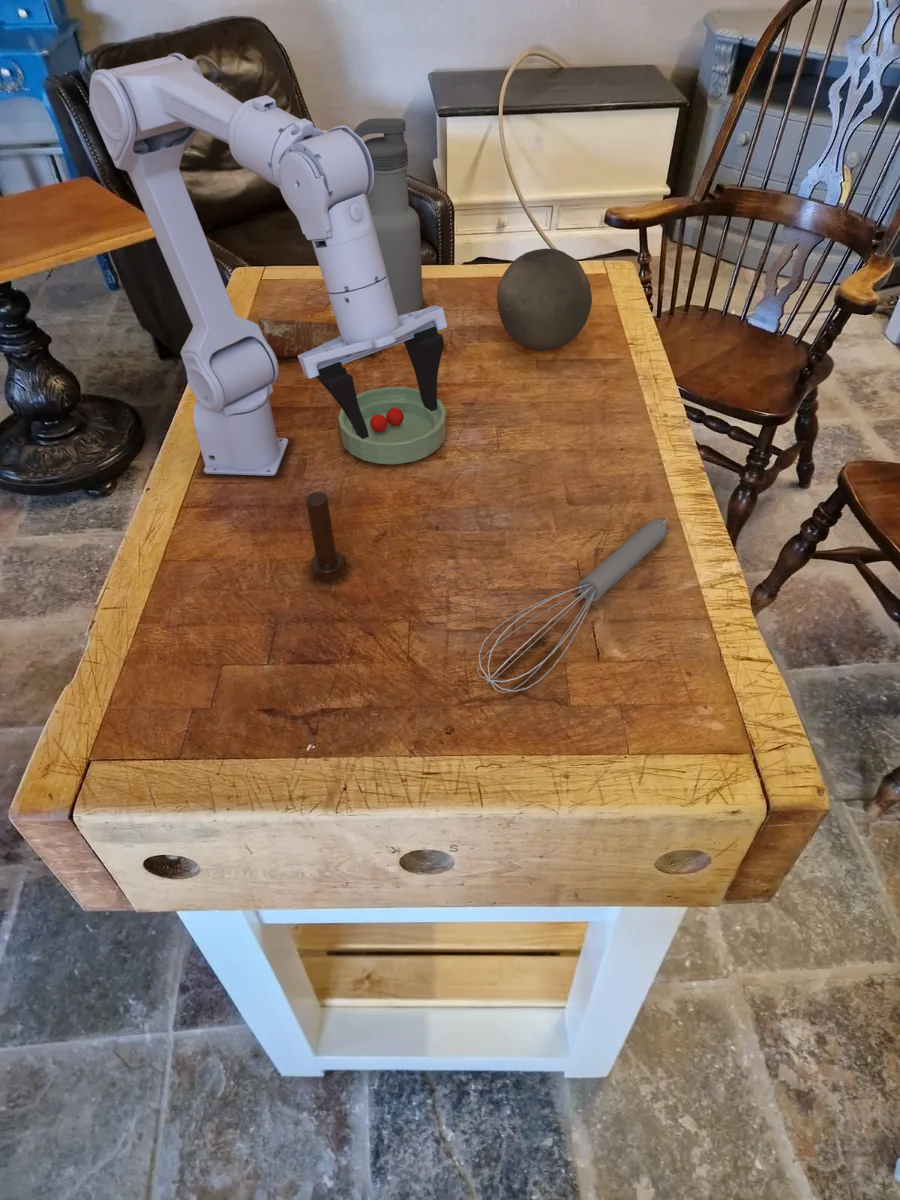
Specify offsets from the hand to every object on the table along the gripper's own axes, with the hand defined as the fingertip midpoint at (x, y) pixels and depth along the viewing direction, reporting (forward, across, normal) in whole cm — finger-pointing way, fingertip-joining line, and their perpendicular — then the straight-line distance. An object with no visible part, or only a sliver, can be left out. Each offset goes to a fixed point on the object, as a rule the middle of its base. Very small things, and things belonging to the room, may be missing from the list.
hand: (397, 421), depth 80 cm
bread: (+4, +6, +52) cm, 52 cm away
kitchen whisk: (+22, +10, -12) cm, 27 cm away
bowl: (+11, +6, +26) cm, 29 cm away
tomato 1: (+9, +5, +27) cm, 29 cm away
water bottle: (+4, +22, +61) cm, 65 cm away
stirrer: (+15, -11, +5) cm, 19 cm away
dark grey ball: (+12, +36, +37) cm, 53 cm away
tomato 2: (+9, +8, +27) cm, 30 cm away
